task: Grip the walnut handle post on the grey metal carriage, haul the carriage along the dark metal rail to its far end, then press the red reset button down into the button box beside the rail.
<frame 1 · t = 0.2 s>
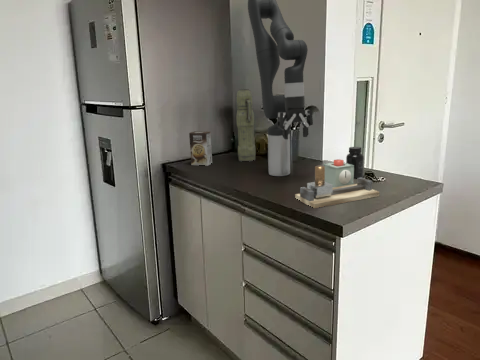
hand: (295, 138, 151), 17 cm above the worktop, tool pointing down, fingers open, 8 cm apart
supplement bottle: (354, 176, 159), on the worktop
thermos: (246, 160, 199), on the worktop
button box: (338, 185, 148), on the worktop
carriage: (319, 180, 130), point 7 cm above the worktop, slide at 0.0 cm
rail track: (337, 197, 134), on the worktop
coffee box: (202, 164, 194), on the worktop
reset button: (338, 165, 146), point 8 cm above the worktop, slide at 0.0 cm
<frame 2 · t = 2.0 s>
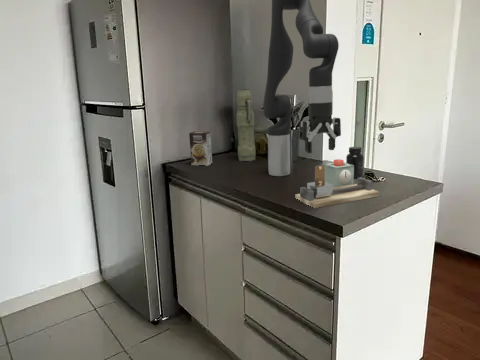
hand: (320, 151, 127), 17 cm above the worktop, tool pointing down, fingers open, 8 cm apart
nothing on the worktop moved.
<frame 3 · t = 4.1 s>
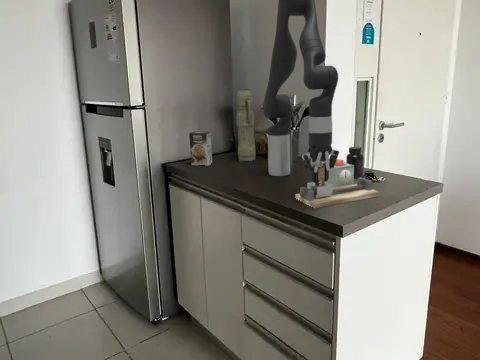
hand: (319, 181, 130), 7 cm above the worktop, tool pointing down, fingers closed on carriage, 3 cm apart
carriage: (319, 180, 130), point 7 cm above the worktop, slide at 0.0 cm, touching gripper
everything else where it was.
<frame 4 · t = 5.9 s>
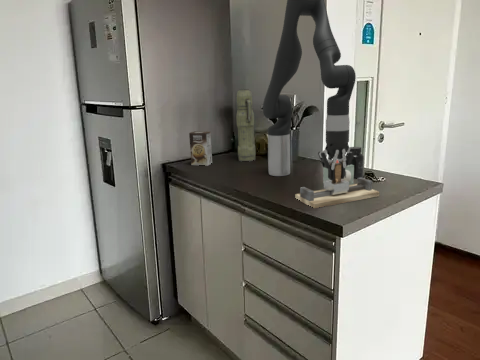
hand: (336, 178, 132), 7 cm above the worktop, tool pointing down, fingers closed on carriage, 3 cm apart
carriage: (336, 178, 132), point 7 cm above the worktop, slide at 6.6 cm, touching gripper
everything else where it was.
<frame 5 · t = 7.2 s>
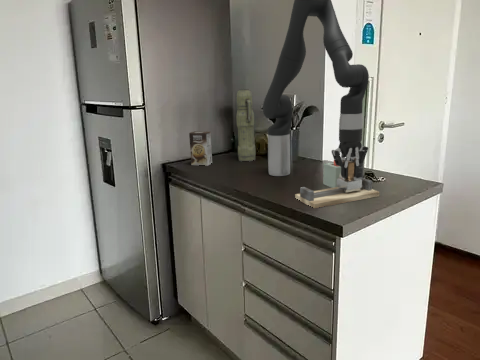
hand: (349, 176, 134), 7 cm above the worktop, tool pointing down, fingers closed on carriage, 3 cm apart
carriage: (349, 176, 134), point 7 cm above the worktop, slide at 11.9 cm, touching gripper
everything else where it was.
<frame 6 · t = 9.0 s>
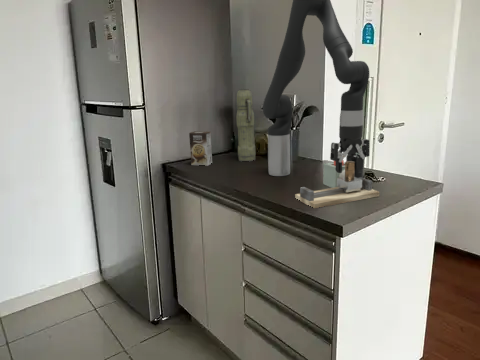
hand: (349, 170, 134), 9 cm above the worktop, tool pointing down, fingers open, 8 cm apart
carriage: (349, 175, 134), point 7 cm above the worktop, slide at 12.0 cm
everything else where it was.
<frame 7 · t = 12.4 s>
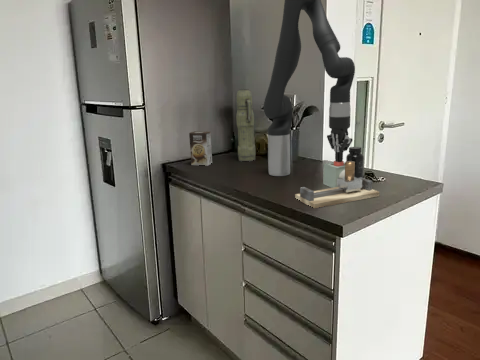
hand: (338, 161, 146), 9 cm above the worktop, tool pointing down, fingers closed
reset button: (338, 166, 146), point 7 cm above the worktop, slide at 0.4 cm, touching gripper
everything else where it was.
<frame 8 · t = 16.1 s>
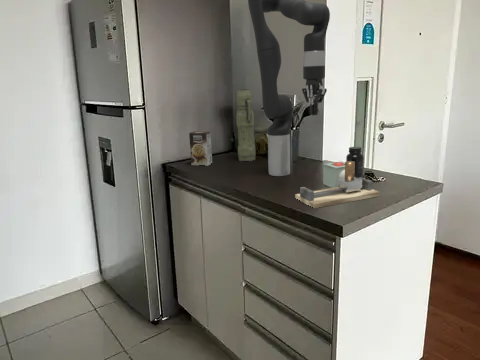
hand: (313, 114, 141), 27 cm above the worktop, tool pointing down, fingers closed
reset button: (338, 168, 146), point 7 cm above the worktop, slide at 1.1 cm
everything else where it was.
at the end: carriage slide at 12.0 cm; reset button slide at 1.1 cm; the gripper is holding nothing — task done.
